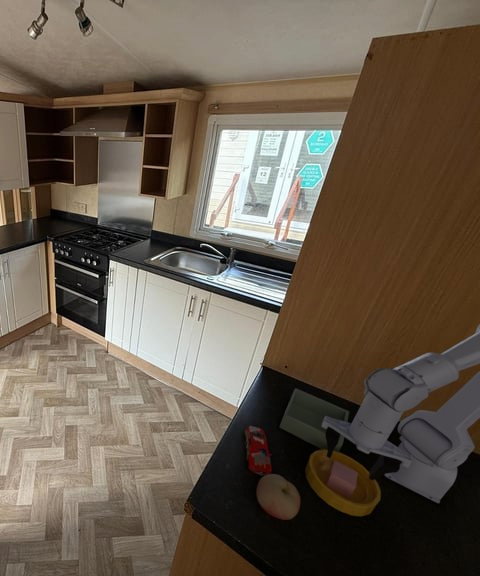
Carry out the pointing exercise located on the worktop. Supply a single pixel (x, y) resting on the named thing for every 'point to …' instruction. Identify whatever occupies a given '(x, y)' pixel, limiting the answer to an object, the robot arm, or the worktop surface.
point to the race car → (257, 451)
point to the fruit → (278, 497)
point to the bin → (311, 418)
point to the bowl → (357, 503)
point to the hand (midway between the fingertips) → (349, 465)
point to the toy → (342, 479)
